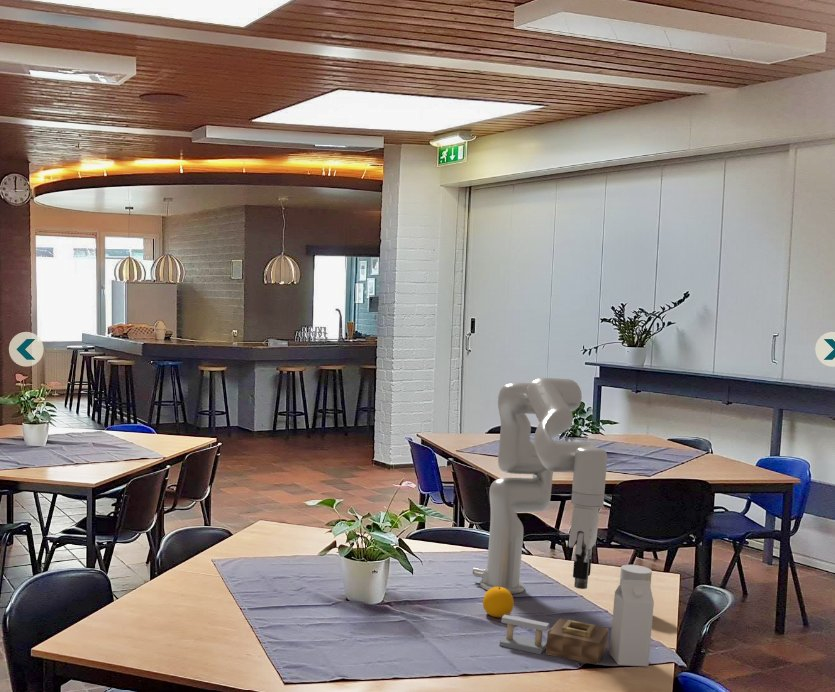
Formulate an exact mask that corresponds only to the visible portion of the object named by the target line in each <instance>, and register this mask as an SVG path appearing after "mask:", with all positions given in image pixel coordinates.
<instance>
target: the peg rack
mask: <svg viewBox="0 0 835 692" xmlns="http://www.w3.org/2000/svg"><path fill="white" fill-rule="evenodd" d="M501 623H503V624H506V635H504V636H503V638H501V640H499V644H498V645H499V646H500V647H504V648H509V649H513V650H519V651H523V652H527V653H532V654H537V655H541V654H543V652H544V651H545V650H546V646H547V641H543V632H548V631H549V630H550V623H549V622H543V621H538V620H533V619H529V618H524V617H519V616H513V615H510V614H509V615H504V616H503V617H501ZM515 626H518V627H523V628H528V629H532V630H535V634H534V637H535V638H534V639H533V638H529V637H524V636H519V635H514V629H515Z"/></svg>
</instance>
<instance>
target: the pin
mask: <svg viewBox="0 0 835 692" xmlns="http://www.w3.org/2000/svg"><path fill="white" fill-rule="evenodd" d="M582 548H583V549H585V547H584V546H583V547H582ZM582 553H585V552H582ZM589 559H590V549H589V550H588V554H587V562H588V570H589ZM588 570H587V579H586V580H584V579H578V578H574V586H573V587H574V588H576V589H580V590H586V589H588V583H589V576H588Z"/></svg>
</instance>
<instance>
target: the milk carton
mask: <svg viewBox="0 0 835 692" xmlns="http://www.w3.org/2000/svg"><path fill="white" fill-rule="evenodd" d="M650 582H651V583H652V580H651V581H642V580H622V579H621V580H620V579H619V585H618V586H617V588H616V589H615V591H614V598H613V609H612V610H613V611H612V620H611V624H612V625H611V632H610V633H611V634H610V642H609V643H610V644H609V655H610V657H612V659H613V660H614V661H615V662H616V664H617V665H619V666H628V667H629V666H631V667H649V661H650V660H649V659H650V651H651V641H652V639H651V638H652V627H653V617H654V616H653V615H654V606H655V605H654V604H655V602H654V597H653V592H652V588H651V587H650Z"/></svg>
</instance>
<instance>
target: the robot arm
mask: <svg viewBox="0 0 835 692" xmlns="http://www.w3.org/2000/svg"><path fill="white" fill-rule="evenodd" d="M580 387H581V386H579V384H578V383H577V382H576V381H575V380H574V379H569V378H553V377H539V378H536V379H534V380H532V381H531V382H511V383H506V384H504V385H502V387H501V388H500V390H499V392H498V396H497V407H498V414H499V417H500V431H499V432H500V433H499V441H498V442H499V443H498V444H499V445H498V455H497V463H498V468H499V469H500V471H501V472H503V473H505V474H515V475H532V477H500V478H497V479H495V480H493V482H492V483H491V484H490V487H489V504H490V505H489V507H490V521H489V523H490V524H489V525H490V526H489V536H488V537H489V538H488V550H487V562H486V568H484V569H481V568H479V567H473V568H472V575H474V577H477V578H481V579H480V582H479V584H480V587H481V588H482V589H484V590H486V591H488V590H489V589H491V588H493V587H503V588H506V589H507V590H508V591H509V592H510V593H511V594H512V595H514V594H520V593H523V592H524V590H525V585H524V583H522V582H521V580H520V579H521V567H522V566H521V565H522V554H523V553H522V551H523V541H524V540H523V539H524V525H523V523H522V521H521V520H520V518H519V517H518V514H517V513H521V512H522V513H523V512H524V513H528V512H530V513H536V512H537V513H540V512H544V511H546V510H547V509H548V507H549V505H550V503H551V496H552V487H553V478H554V477H553V475H554V473H573V474H572V475H573V477H572V489H571V501H570V505H571V506H573V511H572V515H571V521H570V523H571V524H570V531H569V540H568V548H570V549H572V548H573V547H575V548H574V549H575V550H574V558H573V559H574V560H573V570H572V571H573V572H572V577H573V579H575V578H578V579H584V580H586V579H587V570H588V562H587V554H588V550H589V549H590V558H589V570H588V577H589V576H590V575H591V568H592V566H591V565H592V552H593V551H592V549H593V547H594V546H595V545H596V542H597V538H598V537H597V536H598V529H599V514H600V513H599V510H601V509H603V508H604V505H605V504H604V502H605V490H606V489H605V488H606V479H607V478H606V476H607V463H608V454H607V451H606V450H605V449H603V448H600V447H597V446H596V445H595V444H594V443H591V442H586V441H568V440H567V441H565V440H553V438H554V437H556V436H559V435H561V434H563V433H564V432H566V431H567V430H568V429H569V428H570V427H571V426H572V424H573V421H574V415H573V412H574V411H576V410H577V409H578V408H579V407H580V405H581V403H582V398H583V397H582V390H581V388H580ZM527 414H528V415H535V416H536V418H537V420H538V422H539V423H538V425H537V427H536V429H535V433H534V439H533V440H531V431H532V426H531V422H530V420H529V418H528V416H527ZM583 546H584V547H585V549H583V548H582V547H583ZM582 552H585V553H582Z"/></svg>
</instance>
